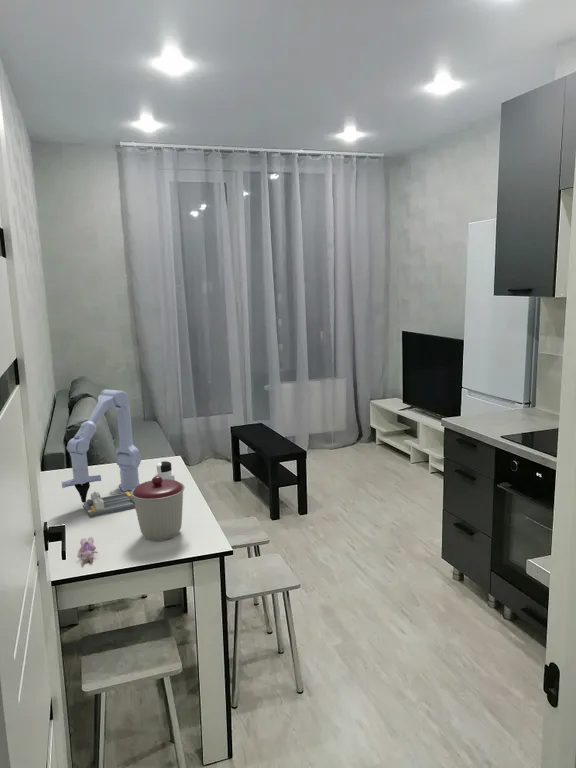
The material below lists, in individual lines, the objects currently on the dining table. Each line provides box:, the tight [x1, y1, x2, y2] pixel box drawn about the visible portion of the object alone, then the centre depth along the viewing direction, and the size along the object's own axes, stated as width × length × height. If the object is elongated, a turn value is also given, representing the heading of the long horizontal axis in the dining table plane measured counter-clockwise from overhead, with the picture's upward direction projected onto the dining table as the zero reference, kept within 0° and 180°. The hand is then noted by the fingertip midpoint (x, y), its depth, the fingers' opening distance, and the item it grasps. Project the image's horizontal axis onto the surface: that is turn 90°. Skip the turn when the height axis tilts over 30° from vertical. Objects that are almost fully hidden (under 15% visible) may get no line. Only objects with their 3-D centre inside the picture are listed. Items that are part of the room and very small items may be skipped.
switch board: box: [83, 491, 136, 518], centre depth 232 cm, size 15×20×2 cm
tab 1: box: [90, 491, 101, 504], centre depth 233 cm, size 4×3×4 cm
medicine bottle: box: [154, 460, 176, 481], centre depth 247 cm, size 7×7×12 cm
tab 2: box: [94, 497, 104, 510], centre depth 226 cm, size 4×3×4 cm
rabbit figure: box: [77, 536, 98, 566], centre depth 190 cm, size 6×6×15 cm
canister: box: [130, 475, 186, 541], centre depth 202 cm, size 18×18×21 cm
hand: (83, 501), depth 231 cm, fingers closed
